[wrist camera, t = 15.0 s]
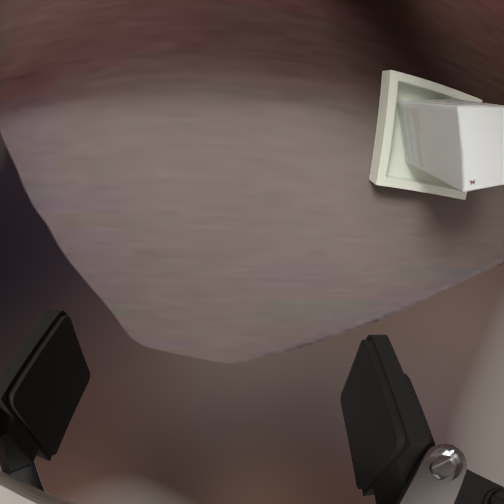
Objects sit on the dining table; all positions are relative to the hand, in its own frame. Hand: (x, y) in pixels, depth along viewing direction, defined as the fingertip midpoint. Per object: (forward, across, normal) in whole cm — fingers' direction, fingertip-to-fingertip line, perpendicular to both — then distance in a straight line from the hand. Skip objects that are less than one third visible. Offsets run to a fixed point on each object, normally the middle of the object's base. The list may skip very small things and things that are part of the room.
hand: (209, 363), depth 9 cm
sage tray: (+28, -21, -6) cm, 36 cm away
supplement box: (+28, -21, -7) cm, 35 cm away
